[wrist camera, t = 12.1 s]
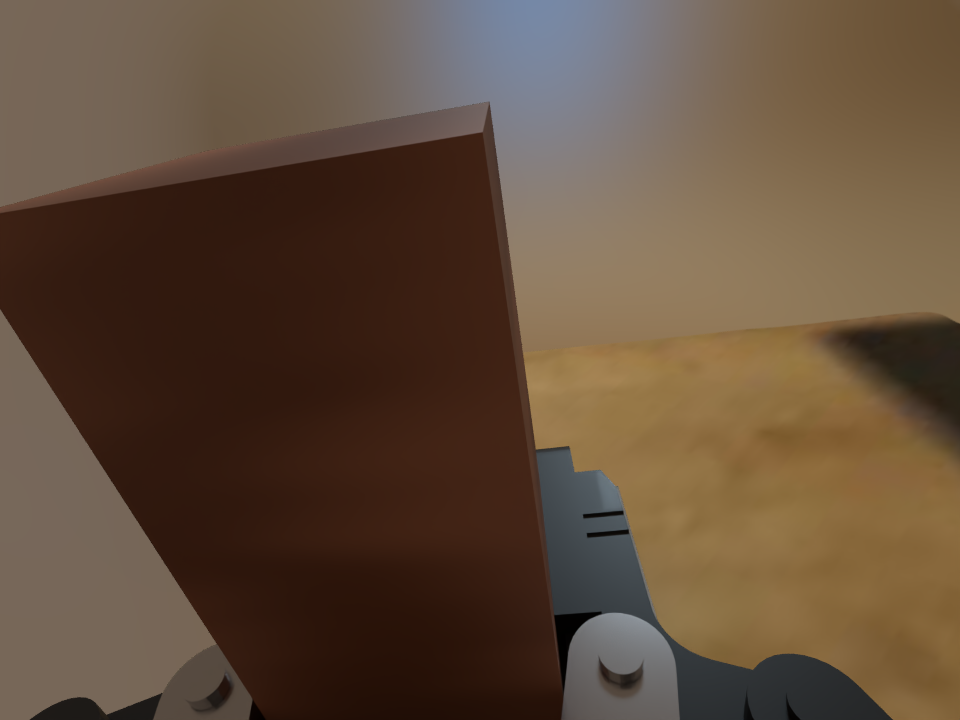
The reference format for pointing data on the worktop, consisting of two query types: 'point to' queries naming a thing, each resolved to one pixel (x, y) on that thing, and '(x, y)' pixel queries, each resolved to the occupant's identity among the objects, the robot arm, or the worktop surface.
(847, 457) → the worktop surface
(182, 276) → the wooden key
